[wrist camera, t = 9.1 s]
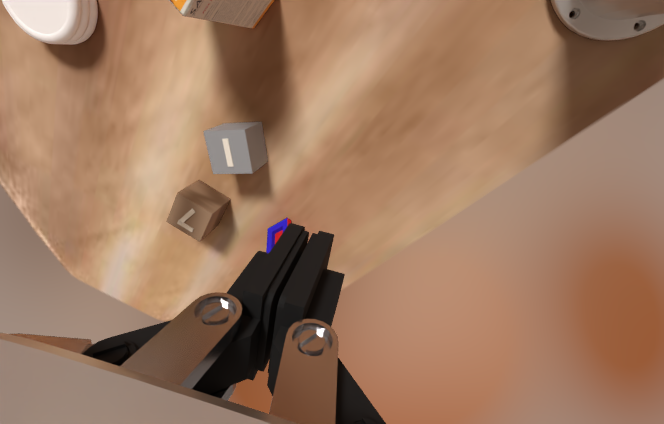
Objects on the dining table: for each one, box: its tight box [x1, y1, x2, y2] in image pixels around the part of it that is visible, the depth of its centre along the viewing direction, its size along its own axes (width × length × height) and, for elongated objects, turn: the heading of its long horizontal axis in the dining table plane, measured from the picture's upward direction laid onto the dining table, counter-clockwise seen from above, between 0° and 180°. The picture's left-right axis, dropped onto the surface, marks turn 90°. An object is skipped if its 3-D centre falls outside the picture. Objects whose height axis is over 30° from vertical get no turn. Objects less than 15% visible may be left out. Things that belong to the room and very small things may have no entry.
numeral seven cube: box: [167, 180, 230, 242], centre depth 45 cm, size 5×5×5 cm
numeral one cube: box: [203, 122, 268, 174], centre depth 40 cm, size 5×5×5 cm
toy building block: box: [266, 218, 291, 253], centre depth 45 cm, size 4×4×8 cm
